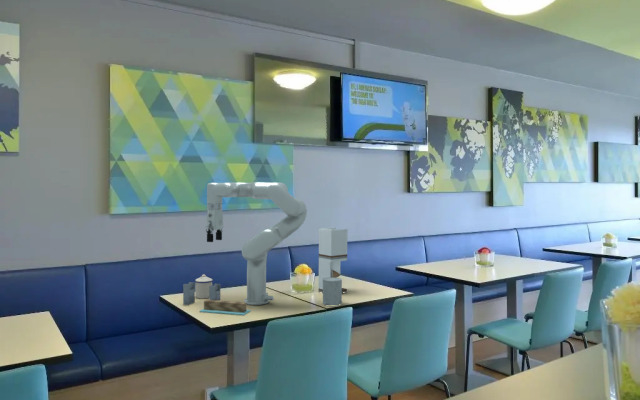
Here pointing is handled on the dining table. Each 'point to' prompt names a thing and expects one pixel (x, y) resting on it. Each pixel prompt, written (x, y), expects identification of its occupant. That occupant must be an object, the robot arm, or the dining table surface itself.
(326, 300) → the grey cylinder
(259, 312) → the dining table surface
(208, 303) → the rail
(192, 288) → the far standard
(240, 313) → the mat
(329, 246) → the grey tall blocky piece
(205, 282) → the teacup with lid
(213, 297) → the near standard
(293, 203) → the robot arm
